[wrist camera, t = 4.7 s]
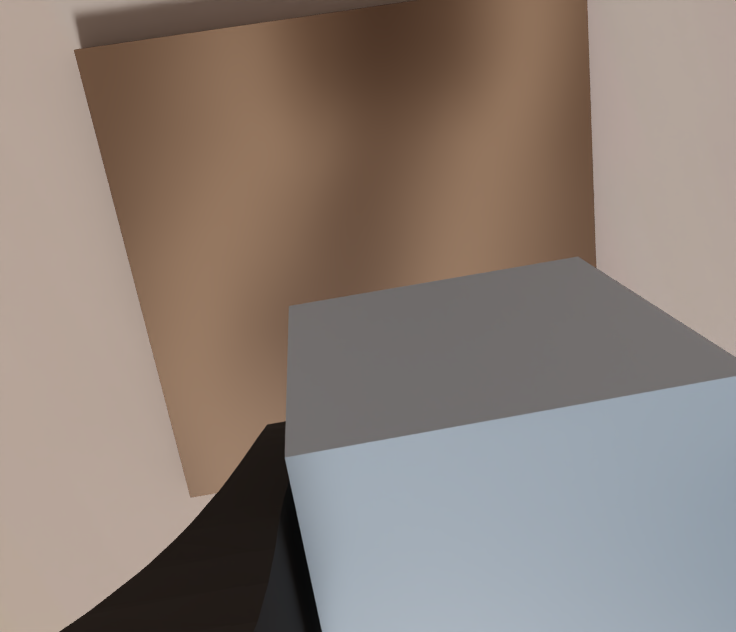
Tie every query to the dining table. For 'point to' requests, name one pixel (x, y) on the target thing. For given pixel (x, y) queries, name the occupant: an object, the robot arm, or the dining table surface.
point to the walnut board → (331, 179)
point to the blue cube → (512, 458)
